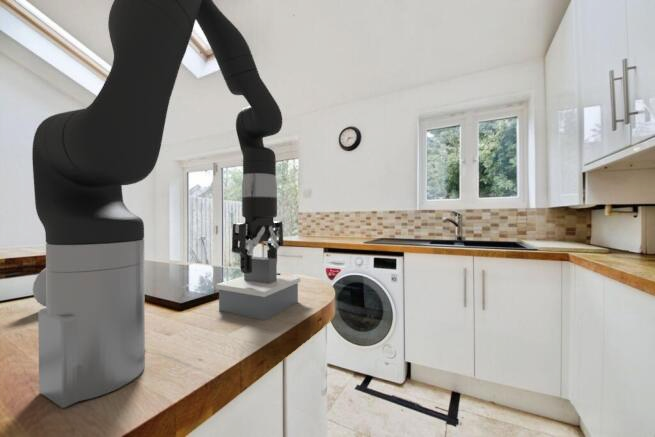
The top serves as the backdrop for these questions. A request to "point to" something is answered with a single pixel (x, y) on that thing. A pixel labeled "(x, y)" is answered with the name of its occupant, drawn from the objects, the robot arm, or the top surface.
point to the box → (257, 302)
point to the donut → (40, 288)
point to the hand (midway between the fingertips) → (260, 268)
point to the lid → (259, 279)
